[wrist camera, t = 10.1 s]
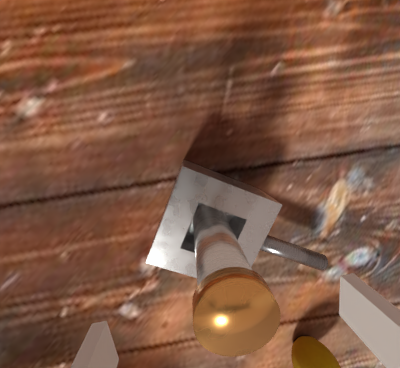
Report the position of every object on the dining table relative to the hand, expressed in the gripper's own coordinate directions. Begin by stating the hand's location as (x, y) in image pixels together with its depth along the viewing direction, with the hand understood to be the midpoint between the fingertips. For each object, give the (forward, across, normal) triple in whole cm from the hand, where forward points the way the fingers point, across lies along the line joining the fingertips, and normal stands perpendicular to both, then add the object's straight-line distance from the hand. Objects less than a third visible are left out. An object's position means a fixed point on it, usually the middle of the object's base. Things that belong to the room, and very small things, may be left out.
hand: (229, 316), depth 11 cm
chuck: (+16, +5, -3) cm, 17 cm away
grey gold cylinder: (+14, +1, 0) cm, 14 cm away
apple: (+16, +14, -26) cm, 33 cm away
